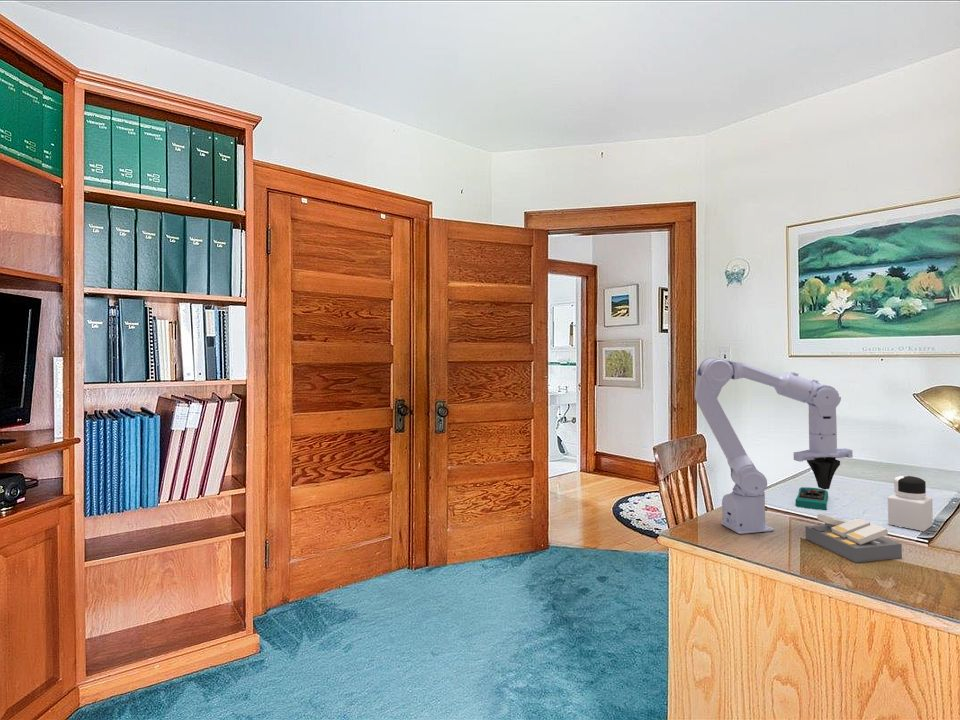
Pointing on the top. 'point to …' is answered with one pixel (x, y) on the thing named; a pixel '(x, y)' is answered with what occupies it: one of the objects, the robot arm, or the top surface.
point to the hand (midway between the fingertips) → (823, 488)
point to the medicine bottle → (910, 504)
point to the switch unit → (853, 545)
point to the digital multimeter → (812, 498)
